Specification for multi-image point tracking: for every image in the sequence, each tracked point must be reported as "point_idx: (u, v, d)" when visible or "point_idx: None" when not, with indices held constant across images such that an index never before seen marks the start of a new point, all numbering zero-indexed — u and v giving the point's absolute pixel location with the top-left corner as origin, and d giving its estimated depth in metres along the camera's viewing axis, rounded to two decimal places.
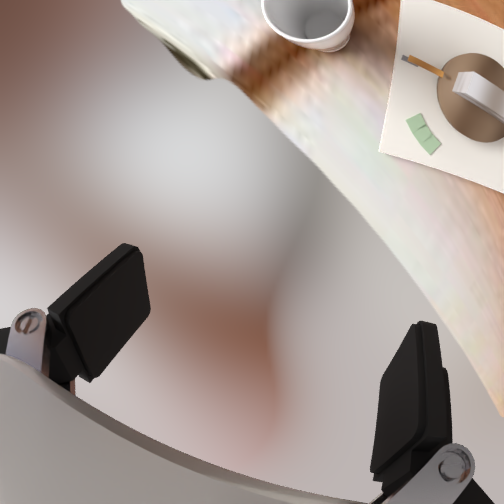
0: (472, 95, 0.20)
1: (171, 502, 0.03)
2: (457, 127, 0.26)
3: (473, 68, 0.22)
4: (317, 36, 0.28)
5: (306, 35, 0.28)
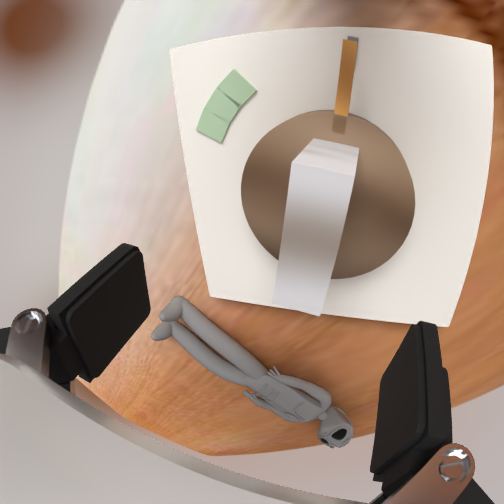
0: (293, 179, 0.12)
1: (171, 502, 0.03)
2: (248, 163, 0.17)
3: (380, 180, 0.15)
4: None
5: None
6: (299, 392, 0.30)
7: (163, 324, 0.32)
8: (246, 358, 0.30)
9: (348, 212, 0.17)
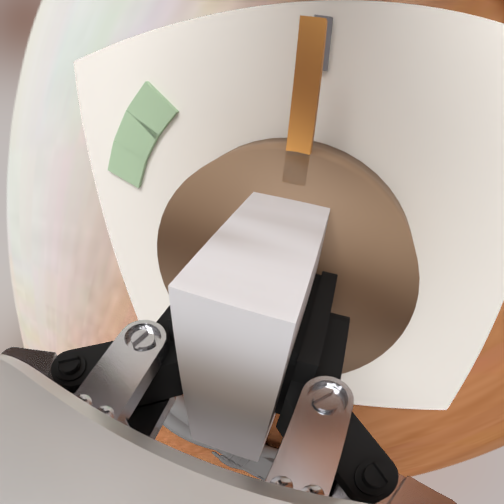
0: (176, 314, 0.06)
1: (171, 502, 0.03)
2: (162, 227, 0.12)
3: (363, 259, 0.10)
4: None
5: None
6: (273, 460, 0.24)
7: None
8: None
9: None
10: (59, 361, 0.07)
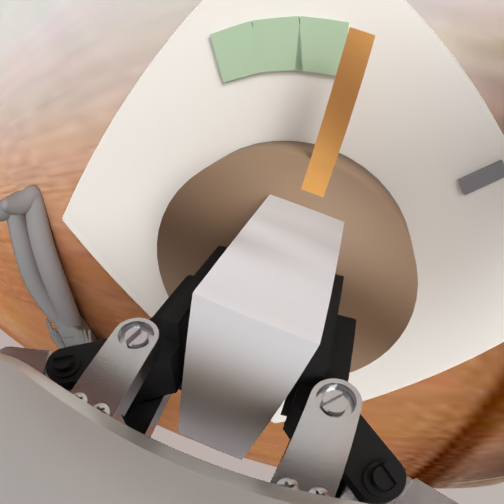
0: (195, 320, 0.06)
1: (171, 502, 0.03)
2: (167, 215, 0.11)
3: (367, 275, 0.10)
4: None
5: None
6: None
7: None
8: (66, 303, 0.21)
9: None
10: (53, 358, 0.07)
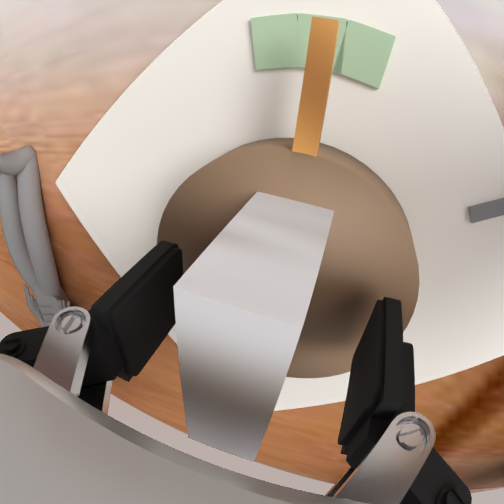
0: (180, 314, 0.06)
1: (171, 502, 0.03)
2: (163, 224, 0.12)
3: (365, 263, 0.10)
4: None
5: None
6: None
7: None
8: (48, 271, 0.20)
9: (312, 304, 0.11)
10: (3, 341, 0.07)
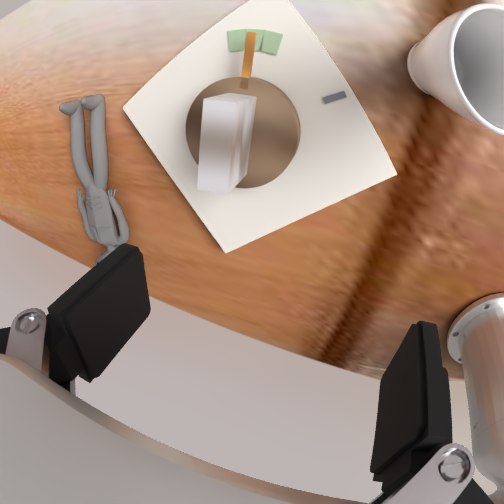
0: (204, 107, 0.20)
1: (171, 502, 0.03)
2: (190, 111, 0.26)
3: (271, 116, 0.24)
4: None
5: None
6: (113, 219, 0.37)
7: (74, 103, 0.31)
8: (104, 169, 0.34)
9: (252, 138, 0.26)
10: None
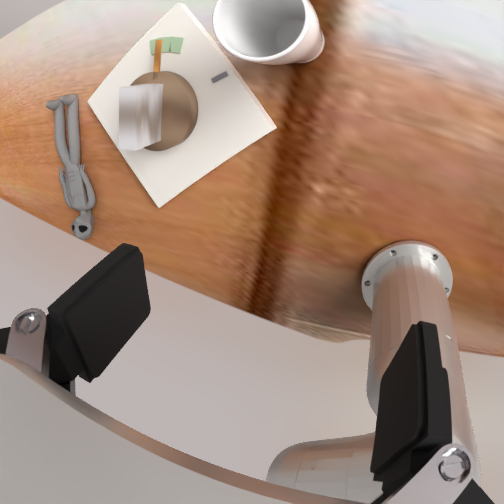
0: (120, 93, 0.28)
1: (171, 502, 0.03)
2: None
3: (172, 96, 0.32)
4: (298, 28, 0.26)
5: None
6: (83, 188, 0.46)
7: (57, 101, 0.40)
8: (76, 149, 0.43)
9: (162, 114, 0.34)
10: None
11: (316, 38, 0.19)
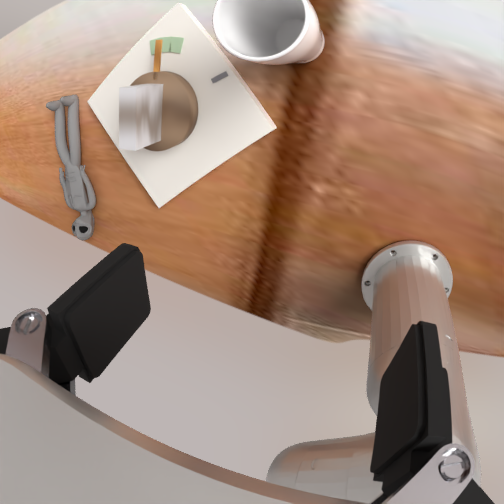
0: (120, 93, 0.28)
1: (171, 502, 0.03)
2: None
3: (172, 96, 0.32)
4: (298, 28, 0.26)
5: None
6: (84, 188, 0.46)
7: (57, 102, 0.40)
8: (77, 150, 0.43)
9: (162, 114, 0.34)
10: None
11: (316, 38, 0.19)
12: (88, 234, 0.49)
